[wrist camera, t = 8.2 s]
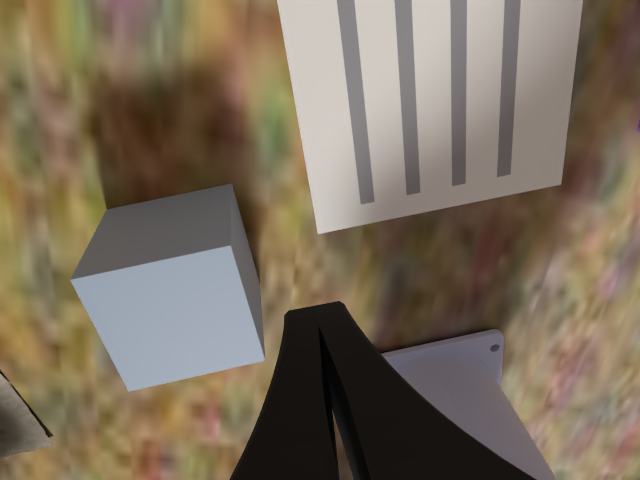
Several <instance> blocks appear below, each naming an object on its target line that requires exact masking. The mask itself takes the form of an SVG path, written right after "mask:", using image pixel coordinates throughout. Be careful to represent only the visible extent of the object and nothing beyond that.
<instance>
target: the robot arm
mask: <svg viewBox="0 0 640 480" xmlns="http://www.w3.org/2000/svg"><path fill="white" fill-rule="evenodd" d="M493 345H494V346H493ZM503 348H504V336H503V334H502V333H501V332H500V331H499V330H497V329H492V330H488V331H483V332H478V333H474V334H469V335H465V336H460V337H455V338H451V339H446V340H442V341H437V342H432V343H428V344H423V345H419V346H414V347H409V348H405V349H400V350H396V351H391V352H386V353H382V354H381V353H380V352H379V351H378V350H377V349H376V348H375V347H374V345H373V344H372V343H371V342H370V341H369V339H368V338H367V337H366V336H365V334H364V333H363V332H362V330H361V329H360V328H359V326H358V325H357V324H356V322H355V321H354V319H353V318H352V316H351V315H350V313H349V312H348V310H347V308H346V306H345V305H344V304H343V303H342V302H340V301H337V302H332V303H326V304H321V305H316V306H311V307H305V308H300V309H295V310H290V311H288V312H287V313H286V314H285V315H284V329H283V336H282V342H281V346H280V351H279V355H278V359H277V363H276V366H275V370H274V374H273V377H272V381H271V384H270V387H269V390H268V392H267V395H266V398H265V401H264V404H263V407H262V410H261V412H260V415H259V417H258V420H257V422H256V425H255V427H254V430H253V432H252V434H251V437H250V439H249V441H248V443H247V445H246V448H245V450H244V452H243V454H242V456H241V458H240V460H239V462H238V464H237V466H236V468H235V470H234V472H233V474H232V476H231V478H230V480H339V470H338V461H337V451H336V441H335V432H334V422H333V413H334V416H335V419H336V422H337V426H338V429H339V432H340V435H341V439H342V442H343V445H344V448H345V452H346V455H347V458H348V461H349V465H350V468H351V471H352V474H353V478H354V480H557V479H556V477H555V476H554V474H553V472H552V471H551V469H550V467H549V466H548V464H547V463H546V461H545V459H544V458H543V456H542V454H541V453H540V451H539V449H538V448H537V446H536V445H535V443H534V441H533V440H532V438H531V436H530V435H529V433H528V432H527V430H526V428H525V427H524V425H523V423H522V422H521V420H520V418H519V417H518V415H517V414H516V412H515V410H514V409H513V407H512V405H511V404H510V402H509V400H508V399H507V397H506V396H505V394H504V392H503V391H502V389H501V380H502V364H503ZM332 409H333V413H332Z"/></svg>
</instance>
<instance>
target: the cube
mask: <svg viewBox="0 0 640 480" xmlns="http://www.w3.org/2000/svg"><path fill="white" fill-rule="evenodd" d="M70 280H71V282H72V284H73V286H74V288H75V290H76V292H77V294H78V296H79V298H80V300H81V301H82V303H83V305H84V307H85V309H86V311H87V313H88V315H89V317H90V319H91V320H92V322H93V324H94V326H95V328H96V330H97V332H98V334H99V336H100V338H101V340H102V341H103V343H104V345H105V347H106V349H107V351H108V353H109V355H110V357H111V359H112V361H113V362H114V364H115V366H116V368H117V370H118V372H119V374H120V376H121V378H122V380H123V382H124V383H125V385H126V387H127V389H128V391H133V390H138V389H142V388H147V387H151V386H155V385H160V384H164V383H169V382H173V381H177V380H182V379H186V378H191V377H195V376H199V375H204V374H208V373H213V372H217V371H222V370H226V369H230V368H235V367H239V366H244V365H248V364H252V363H257V362H261V361H265V350H264V336H263V322H262V308H261V294H260V283H259V279H258V275H257V272H256V268H255V265H254V261H253V258H252V254H251V250H250V247H249V243H248V240H247V236H246V232H245V229H244V225H243V222H242V218H241V214H240V211H239V207H238V204H237V200H236V197H235V193H234V189H233V186H232V184H227V185H222V186H217V187H212V188H208V189H203V190H198V191H193V192H188V193H184V194H179V195H174V196H169V197H164V198H160V199H155V200H150V201H145V202H140V203H136V204H131V205H126V206H121V207H117V208H112V209H107V210H106V212H105V214H104V216H103V218H102V220H101V222H100V224H99V225H98V227H97V229H96V231H95V233H94V235H93V237H92V239H91V241H90V243H89V245H88V247H87V249H86V250H85V252H84V254H83V256H82V258H81V260H80V262H79V264H78V266H77V268H76V270H75V272H74V274H73V276H72V277H71V279H70Z"/></svg>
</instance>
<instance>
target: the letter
mask: <svg viewBox="0 0 640 480" xmlns="http://www.w3.org/2000/svg"><path fill="white" fill-rule="evenodd" d="M277 3H278V8H279V14H280V20H281V25H282V31H283V37H284V43H285V48H286V54H287V60H288V66H289V71H290V77H291V83H292V88H293V94H294V100H295V106H296V111H297V117H298V123H299V129H300V134H301V140H302V146H303V151H304V157H305V163H306V169H307V174H308V180H309V186H310V192H311V197H312V203H313V209H314V215H315V220H316V226H317V232H318V234H321V233H326V232H330V231H335V230H340V229H345V228H350V227H355V226H360V225H365V224H370V223H375V222H380V221H385V220H390V219H394V218H399V217H404V216H409V215H414V214H419V213H424V212H429V211H434V210H439V209H444V208H449V207H453V206H458V205H463V204H468V203H473V202H478V201H483V200H488V199H493V198H498V197H503V196H508V195H512V194H517V193H522V192H527V191H532V190H537V189H542V188H547V187H552V186H557V185H561V182H562V174H563V165H564V157H565V148H566V140H567V131H568V123H569V114H570V106H571V98H572V89H573V81H574V72H575V64H576V55H577V47H578V38H579V30H580V21H581V13H582V5H583V0H277Z"/></svg>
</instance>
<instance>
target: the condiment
mask: <svg viewBox="0 0 640 480" xmlns="http://www.w3.org/2000/svg"><path fill="white" fill-rule="evenodd" d="M51 445H53V444H52V442H51V440H50V439H49V438H48V436H47V435H46V434H45V431H44V429H43V428H42V427H41V425H40V424H39V422H38V421H37V420H36V418H35V417H34V416H33V415H32V414H31V412H30V410H29V408H28V407H27V406H26V404H25V403H24V402H23V401H22V399H21V398H20V397H19V396H18V395H17V393H16V392H15V391H14V389H13V388H12V384H10V382H8V381H7V380H6V379H5V378H4V377H3V376H2V375H1V374H0V458H3V457H6V456H9V455H12V454H17V453H20V452H27V451H34V450H37V449H40V448H43V447H47V446H51Z"/></svg>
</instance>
